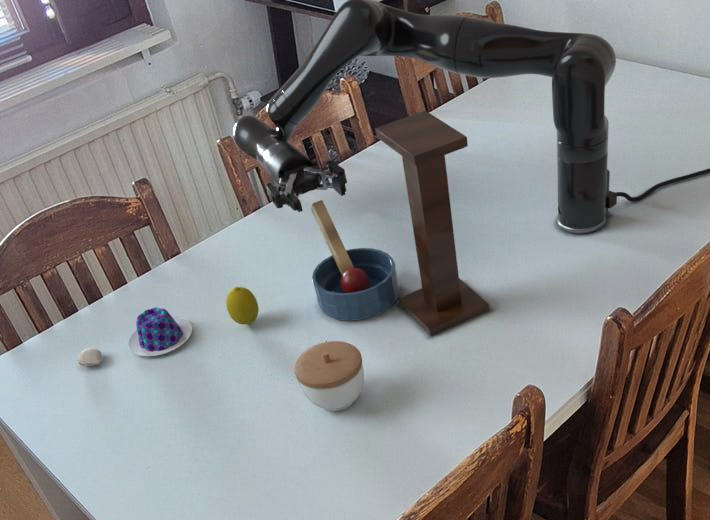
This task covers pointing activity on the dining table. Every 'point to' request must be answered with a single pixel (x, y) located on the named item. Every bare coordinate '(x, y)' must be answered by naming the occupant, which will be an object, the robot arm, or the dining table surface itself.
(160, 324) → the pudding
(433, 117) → the plant stand
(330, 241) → the mallet
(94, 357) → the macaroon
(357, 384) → the trinket box
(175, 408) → the dining table surface
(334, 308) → the bowl
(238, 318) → the lemon
